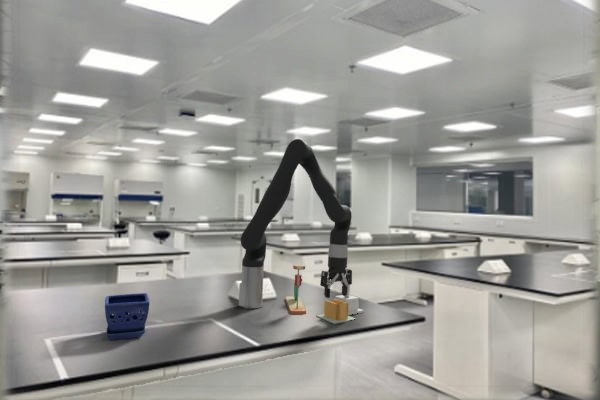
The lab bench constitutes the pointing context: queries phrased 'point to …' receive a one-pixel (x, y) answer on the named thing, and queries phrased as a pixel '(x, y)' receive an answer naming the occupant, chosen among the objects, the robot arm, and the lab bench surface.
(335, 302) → the cardboard box
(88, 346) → the lab bench surface
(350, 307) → the stand
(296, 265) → the crank mechanism
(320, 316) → the mat
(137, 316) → the flower pot
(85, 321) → the lab bench surface
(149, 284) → the lab bench surface
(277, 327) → the lab bench surface
